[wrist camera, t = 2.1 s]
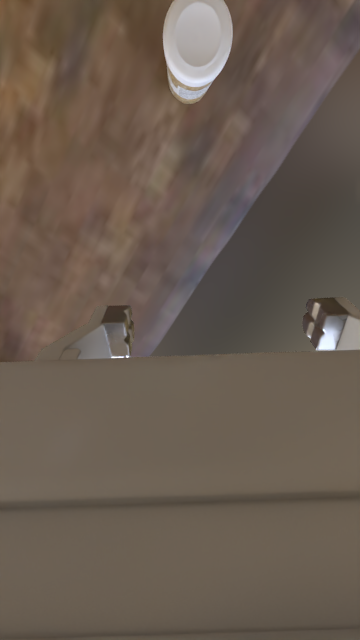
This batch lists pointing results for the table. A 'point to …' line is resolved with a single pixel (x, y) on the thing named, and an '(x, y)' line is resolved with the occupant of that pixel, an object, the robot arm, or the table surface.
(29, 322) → the table surface
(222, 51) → the sprinkles bottle
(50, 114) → the table surface
